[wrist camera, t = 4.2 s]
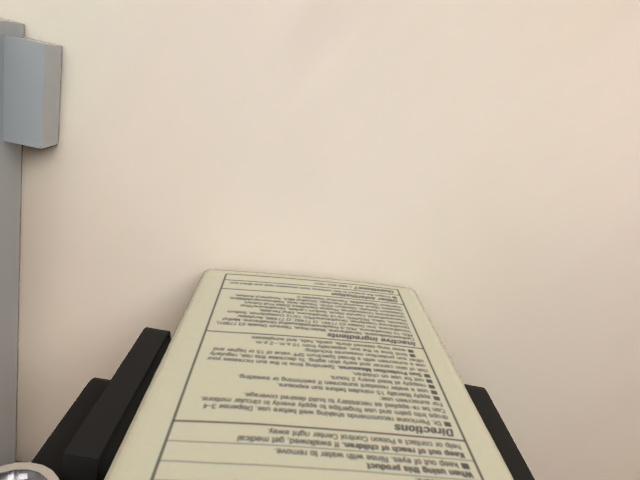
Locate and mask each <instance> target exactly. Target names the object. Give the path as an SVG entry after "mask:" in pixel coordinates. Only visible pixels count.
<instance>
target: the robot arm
mask: <svg viewBox="0 0 640 480" xmlns="http://www.w3.org/2000/svg"><path fill="white" fill-rule="evenodd" d="M170 337H171V334H170V331H164V330H159V329H153V328H148V327H146V328H145V329H144V330H143V332H142V333H141V335H140V336H139V338H138V339H137V341H136V342H135V344H134V345H133V347H132V348H131V350H130V352H129V353H128V355H127V356H126V358H125V359H124V361H123V362H122V364H121V365H120V367H119V368H118V370H117V371H116V373H115V375H114V376H113V378H112V379H111V380H106V379H100V378H93V379H91V381H90V382H89V383H88V384H87V385H86V387H85V388H84V390H83V391H82V392H81V394H80V395H79V397H78V398H77V399H76V401H75V402H74V404H73V405H72V406H71V408H70V409H69V411H68V412H67V413H66V415H65V416H64V417H63V419H62V420H61V422H60V423H59V424H58V426H57V427H56V429H55V430H54V431H53V433H52V434H51V436H50V437H49V438H48V440H47V441H46V442H45V444H44V445H43V447H42V448H41V449H40V451H39V452H38V454H37V455H36V456H35V458H34V459H33V461H32V462H23V463H12V464H8V465H3V466H0V480H104V479H105V476H106V474H107V472H108V470H109V468H110V466H111V464H112V462H113V460H114V458H115V456H116V453H117V451H118V449H119V447H120V445H121V443H122V441H123V439H124V437H125V435H126V433H127V431H128V429H129V427H130V425H131V423H132V420H133V418H134V416H135V414H136V412H137V410H138V408H139V406H140V404H141V402H142V400H143V397H144V395H145V393H146V391H147V389H148V388H149V386H150V383H151V381H152V379H153V377H154V374H155V372H156V370H157V368H158V367H159V365H160V363H161V361H162V358H163V356H164V354H165V353H166V350H167V348H168V346H169V344H170V341H171V339H172V338H170ZM464 386H465V388H466V390H467V392H468V394H469V396H470V398H471V400H472V402H473V403H474V405H475V407H476V409H477V411H478V413H479V415H480V416H481V418H482V420H483V422H484V424H485V426H486V428H487V430H488V432H489V434H490V435H491V437H492V439H493V441H494V443H495V445H496V447H497V449H498V450H499V452H500V454H501V456H502V458H503V460H504V462H505V464H506V466H507V468H508V470H509V472H510V474H511V475H512V477H513V479H514V480H535V479H534V478H533V476H532V474H531V472H530V470H529V468H528V467H527V465H526V463H525V461H524V459H523V457H522V455H521V454H520V452H519V450H518V448H517V446H516V444H515V443H514V441H513V439H512V437H511V435H510V433H509V431H508V430H507V428H506V426H505V424H504V422H503V420H502V419H501V417H500V415H499V413H498V411H497V409H496V408H495V406H494V404H493V402H492V400H491V398H490V396H489V395H488V393H487V391H486V390H485V388H482V387H477V386H471V385H466V384H464Z"/></svg>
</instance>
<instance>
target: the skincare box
mask: <svg viewBox="0 0 640 480" xmlns="http://www.w3.org/2000/svg"><path fill="white" fill-rule="evenodd" d="M104 480H514V479H513V477H512V475H511V474H510V472H509V470H508V468H507V466H506V464H505V462H504V460H503V458H502V456H501V454H500V452H499V450H498V449H497V447H496V445H495V443H494V441H493V439H492V437H491V435H490V434H489V432H488V430H487V428H486V426H485V424H484V422H483V420H482V418H481V416H480V415H479V413H478V411H477V409H476V407H475V405H474V403H473V402H472V400H471V398H470V396H469V394H468V392H467V390H466V388H465V386H464V384H463V382H462V380H461V378H460V376H459V374H458V372H457V371H456V369H455V367H454V365H453V363H452V361H451V359H450V357H449V355H448V353H447V351H446V349H445V347H444V345H443V344H442V342H441V340H440V338H439V336H438V334H437V332H436V331H435V329H434V327H433V325H432V323H431V321H430V319H429V317H428V315H427V313H426V311H425V309H424V307H423V305H422V303H421V301H420V299H419V298H418V296H417V294H416V293H415V291H414V290H412V289H408V288H401V287H393V286H386V285H378V284H370V283H362V282H353V281H343V280H334V279H324V278H313V277H303V276H292V275H279V274H267V273H254V272H239V271H223V270H207V271H205V272H204V274H203V275H202V277H201V279H200V281H199V284H198V286H197V288H196V290H195V292H194V294H193V296H192V298H191V300H190V302H189V304H188V307H187V309H186V311H185V313H184V315H183V317H182V319H181V321H180V324H179V325H178V327H177V329H176V331H175V333H174V335H173V337H172V339H171V341H170V344H169V346H168V348H167V350H166V353H165V354H164V356H163V358H162V361H161V363H160V365H159V367H158V368H157V370H156V372H155V374H154V377H153V379H152V381H151V383H150V386H149V388H148V389H147V391H146V393H145V395H144V397H143V400H142V402H141V404H140V406H139V408H138V410H137V412H136V414H135V416H134V418H133V420H132V423H131V425H130V427H129V429H128V431H127V433H126V435H125V437H124V439H123V441H122V443H121V445H120V447H119V449H118V451H117V453H116V456H115V458H114V460H113V462H112V464H111V466H110V468H109V470H108V472H107V474H106V476H105V479H104Z"/></svg>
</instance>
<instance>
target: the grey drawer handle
mask: <svg viewBox="0 0 640 480" xmlns="http://www.w3.org/2000/svg"><path fill="white" fill-rule="evenodd" d="M61 62H62V46H60V45H55V44H51V43H46V42H42V41H38V40H33V39H29V38H24V24H21V23H17V22H12V21H8V20H4V19H0V466H3V465H8V464H12V463H22V462H15V457H16V407H17V358H18V308H19V259H20V209H21V160H22V145H26V146H30V147H35V148H40V149H43V148H46V147H50V146H53V145H57V144H58V131H59V108H60V85H61Z"/></svg>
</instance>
